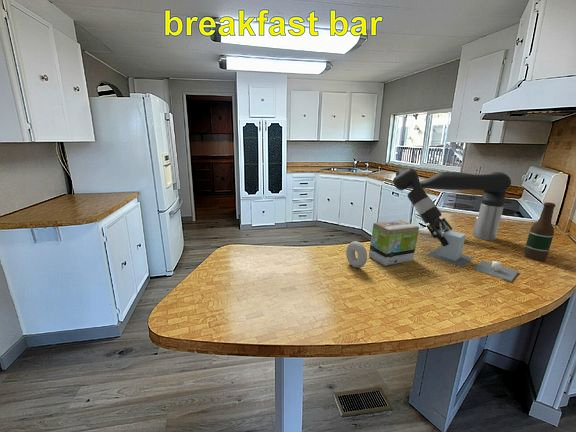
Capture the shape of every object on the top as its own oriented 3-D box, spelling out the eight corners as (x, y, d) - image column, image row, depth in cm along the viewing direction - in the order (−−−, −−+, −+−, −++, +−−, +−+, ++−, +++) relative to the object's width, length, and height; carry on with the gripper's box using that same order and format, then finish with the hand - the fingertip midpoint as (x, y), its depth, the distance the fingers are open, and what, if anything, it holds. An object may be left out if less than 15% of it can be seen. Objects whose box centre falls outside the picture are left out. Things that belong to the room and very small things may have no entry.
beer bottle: (550, 262, 118) (568, 205, 112) (529, 260, 119) (545, 204, 113) (538, 254, 125) (554, 201, 119) (518, 253, 127) (533, 200, 120)
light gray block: (438, 255, 119) (443, 233, 117) (444, 252, 123) (448, 230, 121) (455, 261, 115) (460, 237, 112) (460, 257, 119) (465, 234, 116)
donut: (367, 271, 104) (370, 246, 101) (360, 273, 102) (363, 247, 99) (350, 260, 112) (352, 237, 110) (343, 262, 111) (345, 238, 108)
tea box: (385, 267, 108) (390, 230, 104) (368, 256, 117) (372, 222, 113) (414, 261, 114) (420, 225, 110) (395, 251, 123) (400, 219, 119)
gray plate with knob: (472, 270, 108) (474, 261, 107) (481, 261, 116) (483, 253, 115) (510, 282, 100) (513, 273, 99) (518, 272, 107) (520, 263, 106)
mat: (425, 256, 120) (425, 255, 120) (438, 248, 129) (439, 247, 129) (462, 267, 110) (462, 266, 110) (473, 258, 119) (474, 257, 119)
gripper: (427, 212, 130) (448, 243, 125) (412, 217, 121) (435, 251, 116) (441, 203, 125) (464, 235, 120) (427, 207, 115) (452, 242, 110)
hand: (450, 243), depth 118 cm, fingers open, 8 cm apart
